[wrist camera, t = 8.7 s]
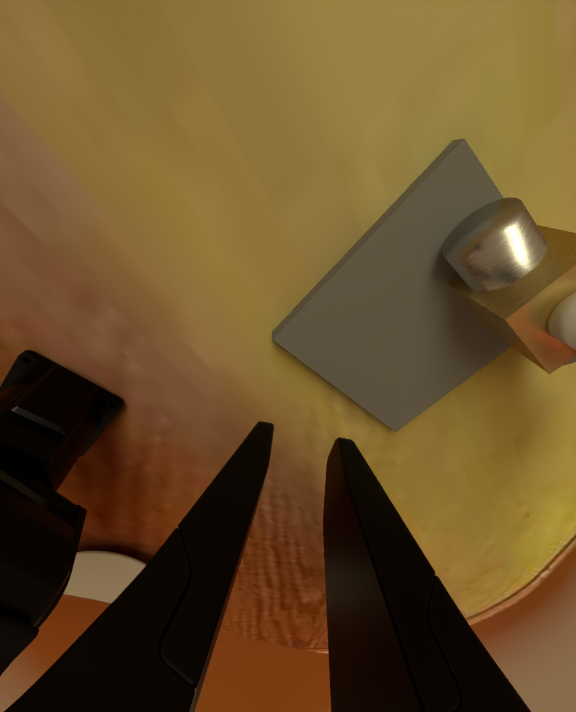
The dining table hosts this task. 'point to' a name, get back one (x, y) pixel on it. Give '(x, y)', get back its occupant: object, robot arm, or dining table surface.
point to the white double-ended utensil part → (102, 575)
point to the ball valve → (514, 277)
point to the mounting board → (400, 301)
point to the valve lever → (564, 321)
